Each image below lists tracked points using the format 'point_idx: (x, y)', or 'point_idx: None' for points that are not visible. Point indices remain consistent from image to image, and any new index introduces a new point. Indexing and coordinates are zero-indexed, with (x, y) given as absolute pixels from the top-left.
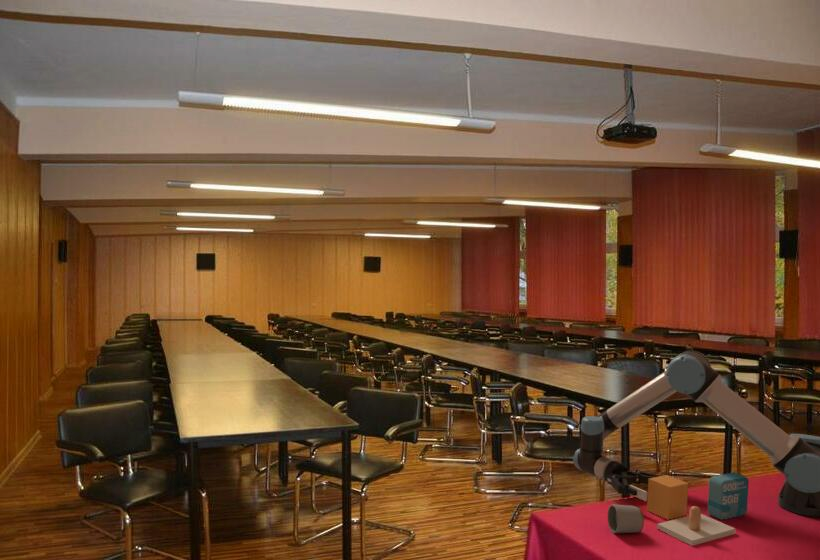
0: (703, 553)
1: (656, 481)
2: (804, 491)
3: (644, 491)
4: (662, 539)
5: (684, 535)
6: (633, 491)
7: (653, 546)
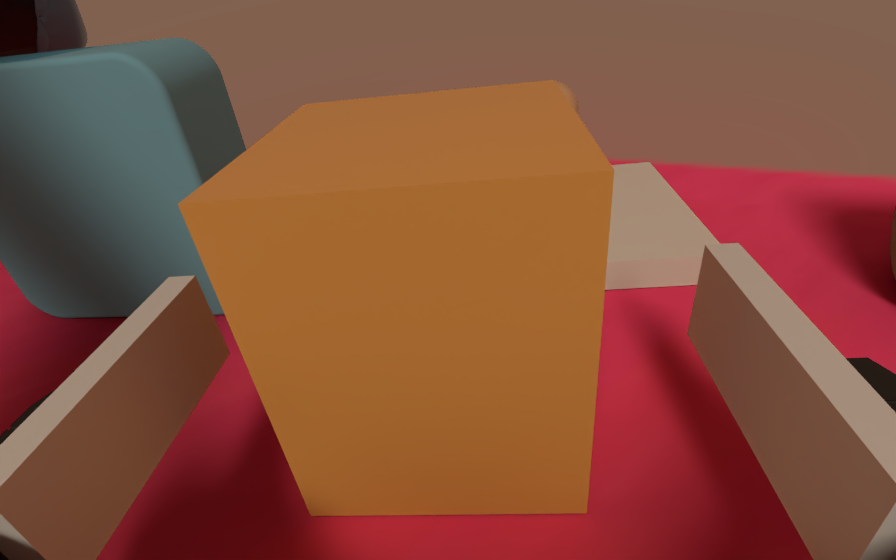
0: (642, 161)
1: (571, 126)
2: (85, 45)
3: (739, 257)
4: (759, 223)
5: (652, 181)
6: (883, 379)
7: (851, 200)
